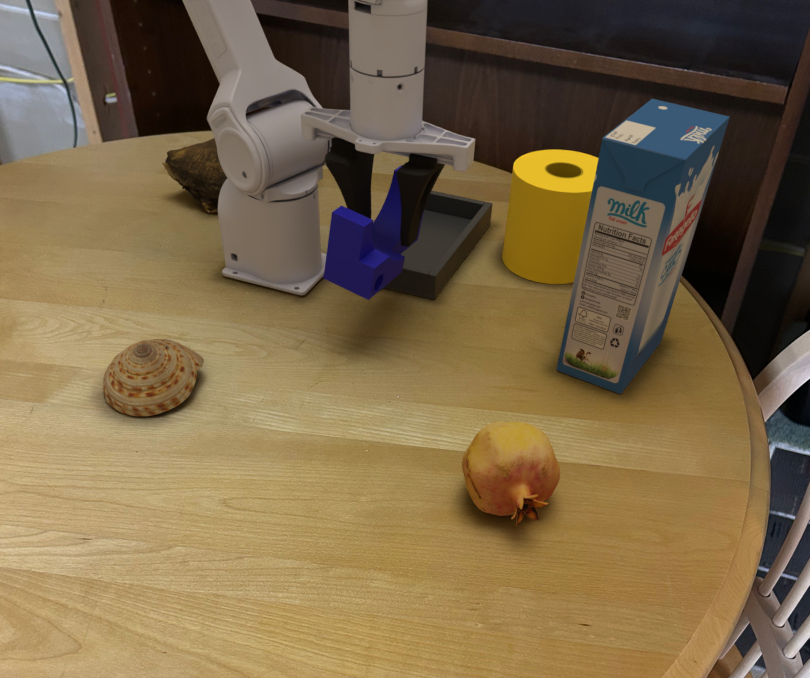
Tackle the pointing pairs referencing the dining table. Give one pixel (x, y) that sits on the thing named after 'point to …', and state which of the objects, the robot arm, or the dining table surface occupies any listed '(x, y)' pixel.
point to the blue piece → (366, 247)
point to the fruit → (510, 469)
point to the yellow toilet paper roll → (548, 214)
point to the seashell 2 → (198, 172)
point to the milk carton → (637, 239)
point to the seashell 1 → (151, 377)
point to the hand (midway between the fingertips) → (385, 236)
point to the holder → (441, 243)
